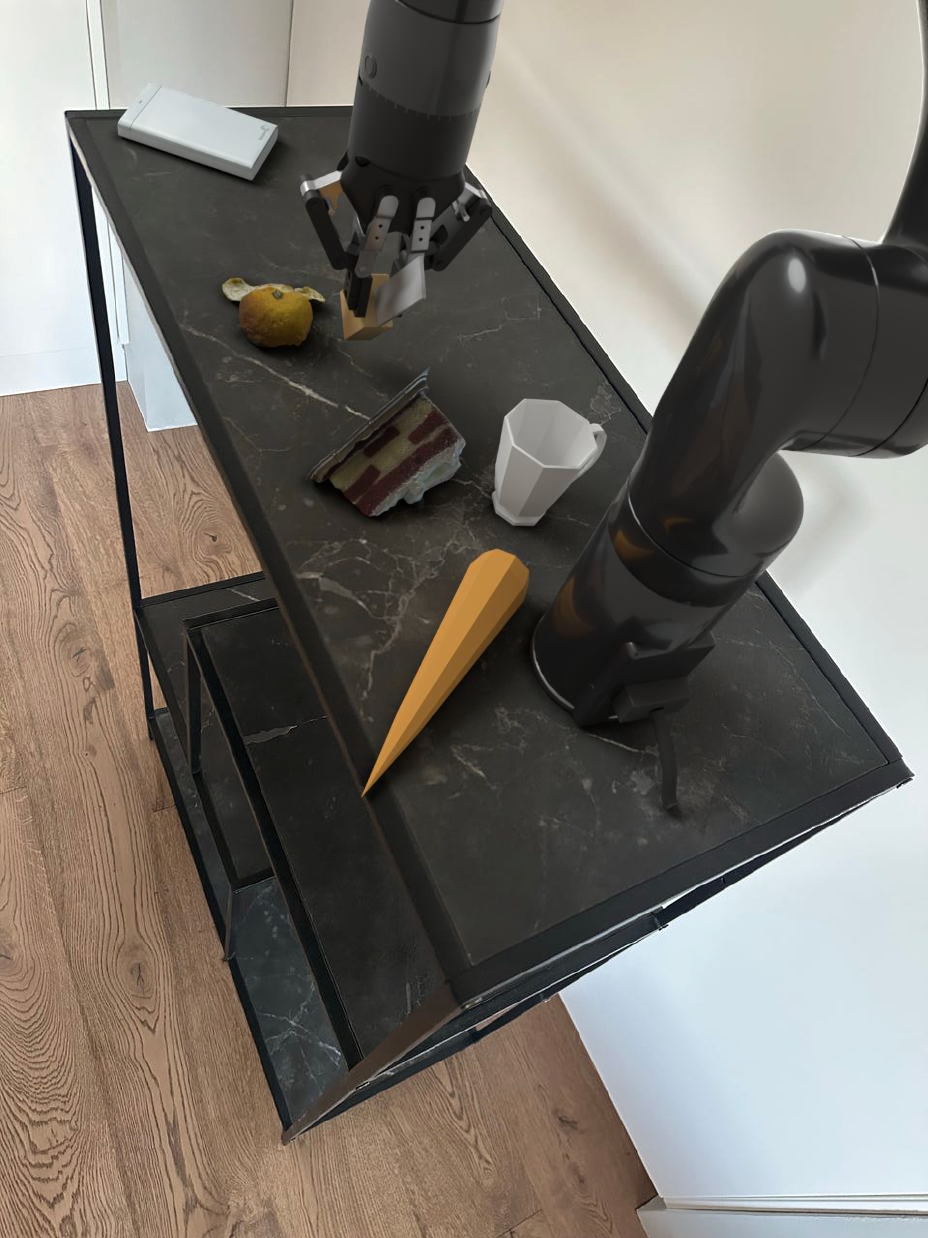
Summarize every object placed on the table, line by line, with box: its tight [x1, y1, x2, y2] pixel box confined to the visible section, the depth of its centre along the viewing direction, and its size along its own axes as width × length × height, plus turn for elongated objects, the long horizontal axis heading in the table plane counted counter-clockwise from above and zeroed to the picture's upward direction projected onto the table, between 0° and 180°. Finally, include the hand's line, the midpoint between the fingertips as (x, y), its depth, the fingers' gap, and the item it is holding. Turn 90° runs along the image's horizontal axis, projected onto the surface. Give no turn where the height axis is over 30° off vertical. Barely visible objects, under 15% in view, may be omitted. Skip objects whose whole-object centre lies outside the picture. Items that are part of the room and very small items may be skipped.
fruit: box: [221, 277, 326, 348], centre depth 73 cm, size 8×8×4 cm
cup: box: [491, 398, 608, 527], centre depth 67 cm, size 7×10×8 cm
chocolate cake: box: [305, 365, 467, 517], centre depth 67 cm, size 10×7×12 cm
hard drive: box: [117, 81, 279, 181], centre depth 84 cm, size 2×8×12 cm
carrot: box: [360, 548, 530, 799], centre depth 59 cm, size 20×4×4 cm
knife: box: [339, 256, 427, 342], centre depth 65 cm, size 16×2×4 cm
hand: (374, 309), depth 67 cm, fingers closed on knife, 2 cm apart
